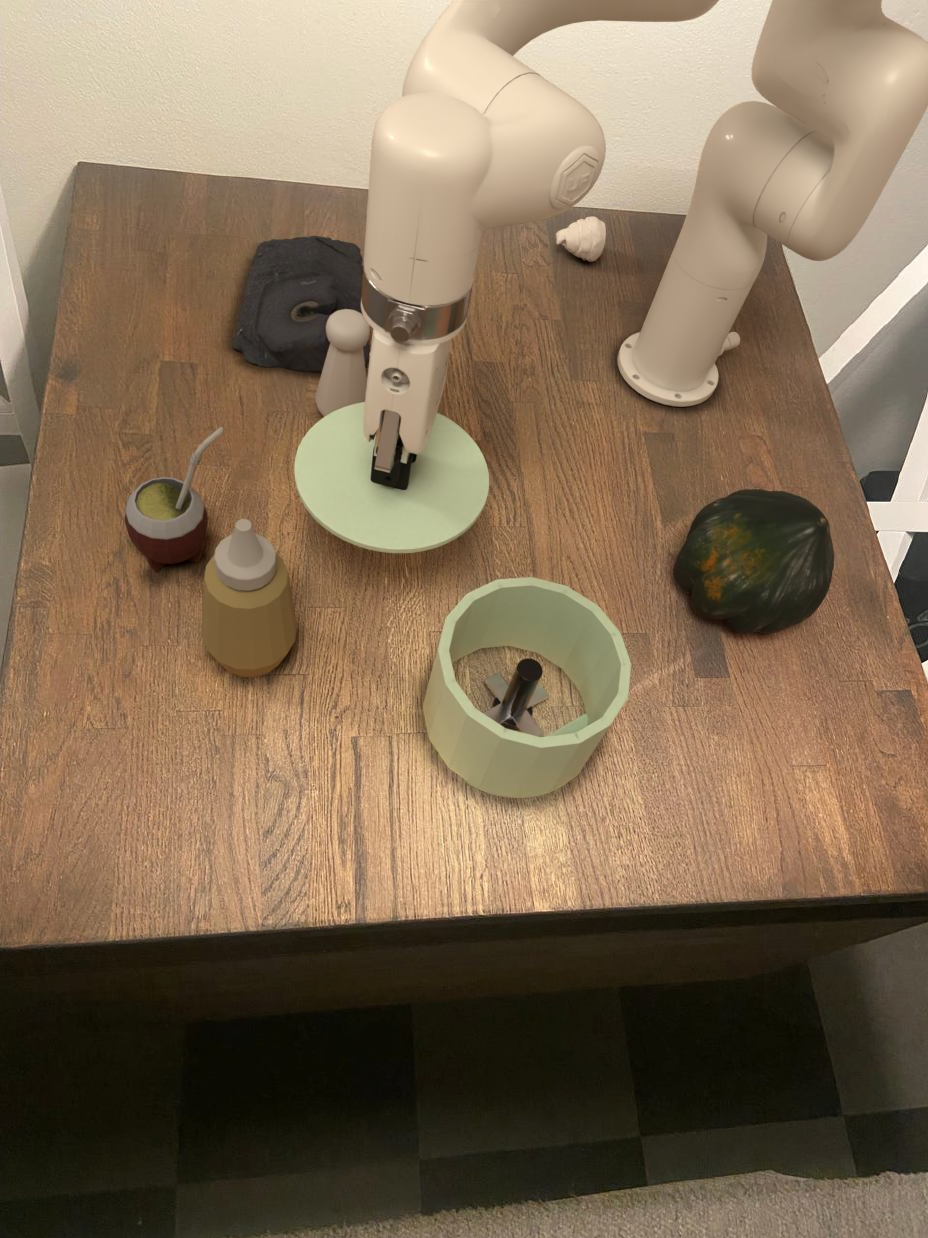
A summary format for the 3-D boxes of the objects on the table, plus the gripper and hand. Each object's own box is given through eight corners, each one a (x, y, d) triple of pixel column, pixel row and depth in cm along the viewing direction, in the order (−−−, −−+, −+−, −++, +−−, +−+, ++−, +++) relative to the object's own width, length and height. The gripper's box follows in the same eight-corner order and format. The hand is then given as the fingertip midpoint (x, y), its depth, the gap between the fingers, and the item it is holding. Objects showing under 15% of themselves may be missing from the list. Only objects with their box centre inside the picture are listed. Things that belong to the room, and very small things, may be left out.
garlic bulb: (548, 241, 124) (558, 204, 119) (590, 244, 125) (601, 208, 120) (554, 267, 121) (565, 230, 116) (598, 270, 122) (610, 233, 117)
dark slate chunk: (377, 260, 115) (380, 226, 111) (366, 381, 103) (370, 348, 99) (253, 242, 113) (252, 207, 109) (228, 363, 101) (226, 329, 97)
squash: (643, 503, 92) (745, 503, 79) (758, 477, 98) (872, 474, 84) (659, 638, 95) (760, 661, 82) (771, 606, 101) (883, 623, 87)
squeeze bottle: (257, 707, 79) (251, 588, 64) (184, 658, 81) (162, 530, 66) (314, 644, 84) (321, 519, 69) (244, 598, 85) (236, 466, 70)
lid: (421, 388, 86) (429, 331, 81) (524, 512, 80) (541, 460, 74) (259, 446, 79) (256, 389, 74) (357, 587, 73) (362, 536, 67)
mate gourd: (118, 566, 85) (90, 454, 72) (164, 508, 89) (145, 393, 77) (190, 597, 84) (174, 489, 72) (233, 537, 88) (225, 427, 76)
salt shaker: (360, 441, 98) (369, 345, 87) (308, 427, 98) (311, 330, 87) (374, 404, 101) (384, 308, 91) (323, 391, 101) (328, 293, 91)
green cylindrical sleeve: (528, 617, 89) (554, 551, 80) (629, 745, 83) (669, 690, 74) (390, 686, 82) (402, 623, 74) (488, 831, 76) (514, 781, 68)
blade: (518, 667, 85) (538, 621, 79) (563, 726, 82) (587, 683, 76) (456, 700, 82) (471, 654, 76) (501, 762, 80) (520, 721, 73)
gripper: (445, 383, 59) (415, 553, 74) (489, 238, 68) (454, 416, 83) (332, 354, 59) (325, 530, 74) (390, 213, 68) (373, 396, 83)
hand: (393, 469), depth 78 cm, fingers closed on lid, 2 cm apart
